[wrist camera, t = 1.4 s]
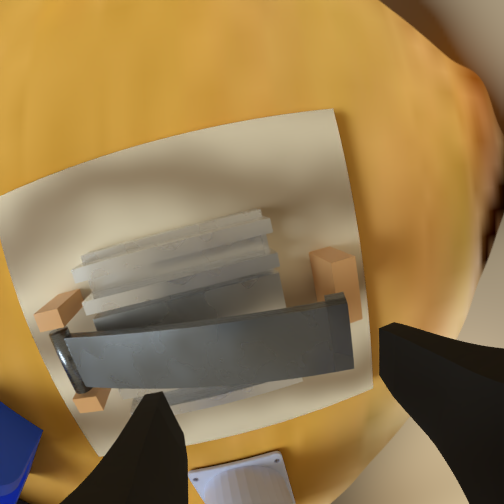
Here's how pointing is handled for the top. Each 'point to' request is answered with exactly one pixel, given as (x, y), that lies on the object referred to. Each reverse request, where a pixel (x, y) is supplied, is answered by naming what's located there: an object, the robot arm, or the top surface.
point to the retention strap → (212, 350)
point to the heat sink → (187, 289)
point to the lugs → (325, 281)
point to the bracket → (15, 453)
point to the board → (185, 213)
